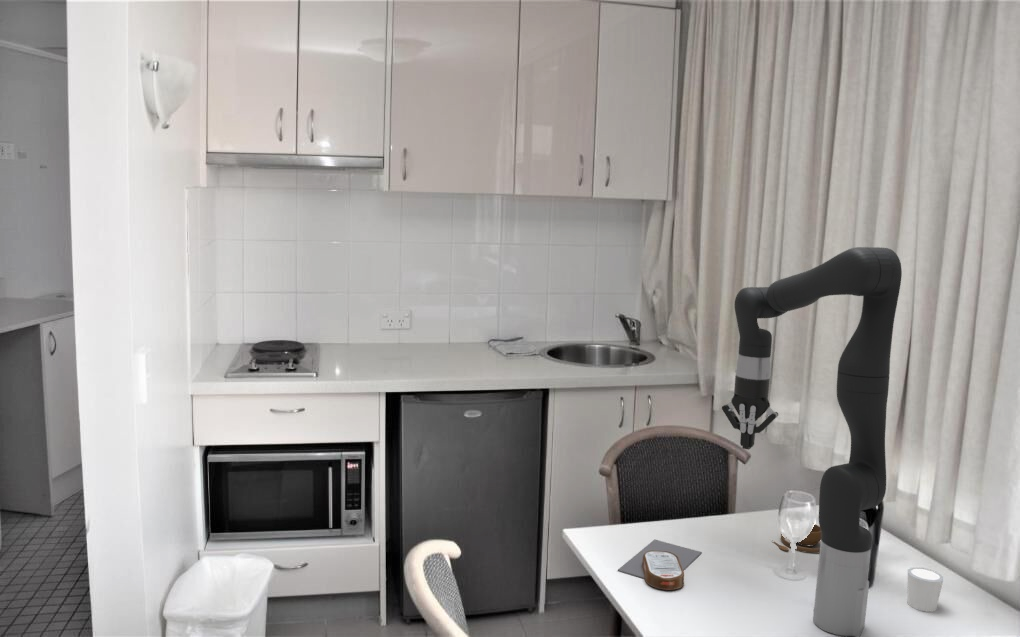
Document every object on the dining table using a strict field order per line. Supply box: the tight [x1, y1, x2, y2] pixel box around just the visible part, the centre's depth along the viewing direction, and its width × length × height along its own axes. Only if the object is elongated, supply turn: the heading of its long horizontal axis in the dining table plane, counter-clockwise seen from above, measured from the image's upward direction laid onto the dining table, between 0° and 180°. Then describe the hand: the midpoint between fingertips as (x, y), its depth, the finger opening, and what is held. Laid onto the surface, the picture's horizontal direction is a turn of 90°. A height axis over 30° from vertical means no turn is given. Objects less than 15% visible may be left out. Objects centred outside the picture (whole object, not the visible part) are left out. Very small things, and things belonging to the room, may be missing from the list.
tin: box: [642, 550, 685, 591], centre depth 185 cm, size 15×3×8 cm
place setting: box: [773, 523, 821, 553], centre depth 202 cm, size 18×20×6 cm
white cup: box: [906, 566, 944, 613], centre depth 176 cm, size 7×7×7 cm
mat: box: [617, 539, 703, 580], centre depth 192 cm, size 12×21×1 cm, turn 147°
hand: (746, 448), depth 191 cm, fingers closed
